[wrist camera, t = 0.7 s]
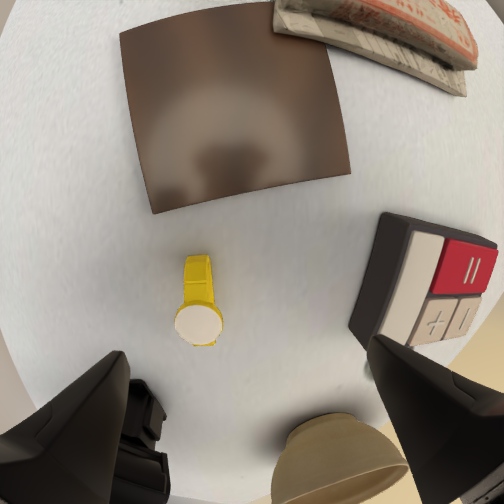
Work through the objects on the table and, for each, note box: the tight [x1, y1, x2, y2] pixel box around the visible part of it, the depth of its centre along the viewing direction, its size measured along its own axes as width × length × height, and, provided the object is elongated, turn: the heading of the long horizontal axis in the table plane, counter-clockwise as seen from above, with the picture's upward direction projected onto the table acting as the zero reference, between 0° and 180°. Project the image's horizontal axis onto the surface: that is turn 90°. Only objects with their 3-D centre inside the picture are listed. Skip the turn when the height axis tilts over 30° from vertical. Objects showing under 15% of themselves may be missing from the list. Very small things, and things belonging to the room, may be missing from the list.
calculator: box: [349, 212, 498, 351], centre depth 21 cm, size 11×4×15 cm
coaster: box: [119, 1, 351, 214], centre depth 16 cm, size 14×14×1 cm
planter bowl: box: [271, 413, 410, 504], centre depth 25 cm, size 16×16×11 cm
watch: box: [175, 255, 223, 346], centre depth 18 cm, size 6×3×6 cm, turn 1°
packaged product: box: [273, 0, 478, 97], centre depth 12 cm, size 18×5×10 cm
